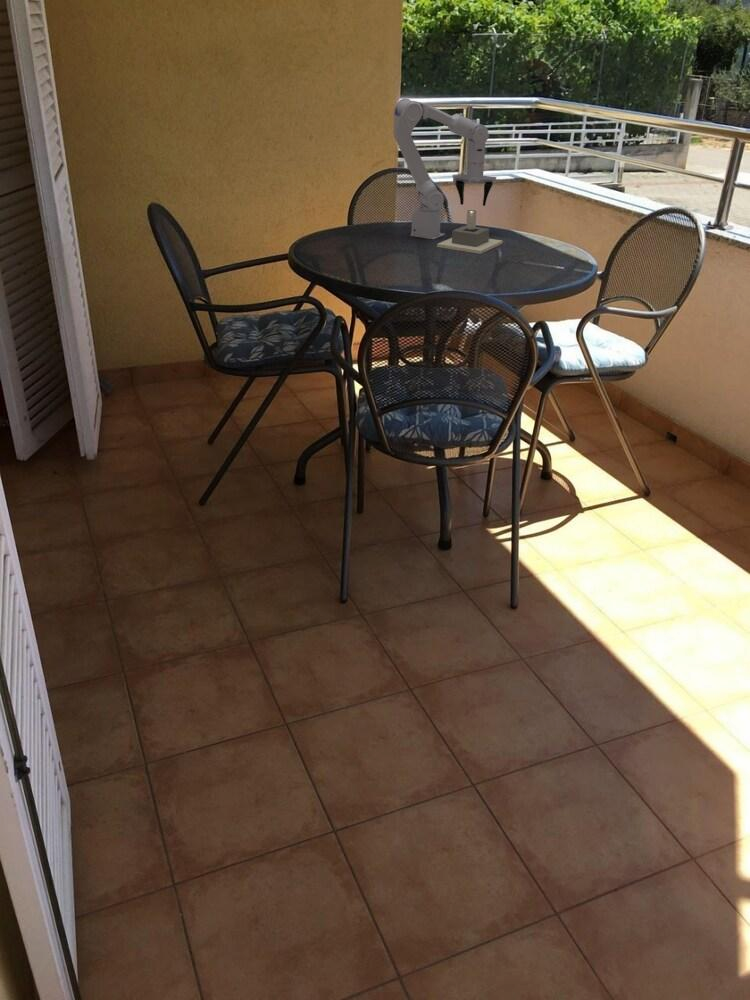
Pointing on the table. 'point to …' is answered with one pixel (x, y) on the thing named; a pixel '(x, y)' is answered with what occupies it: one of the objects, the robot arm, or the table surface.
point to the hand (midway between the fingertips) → (473, 204)
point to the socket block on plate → (470, 240)
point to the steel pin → (471, 220)
